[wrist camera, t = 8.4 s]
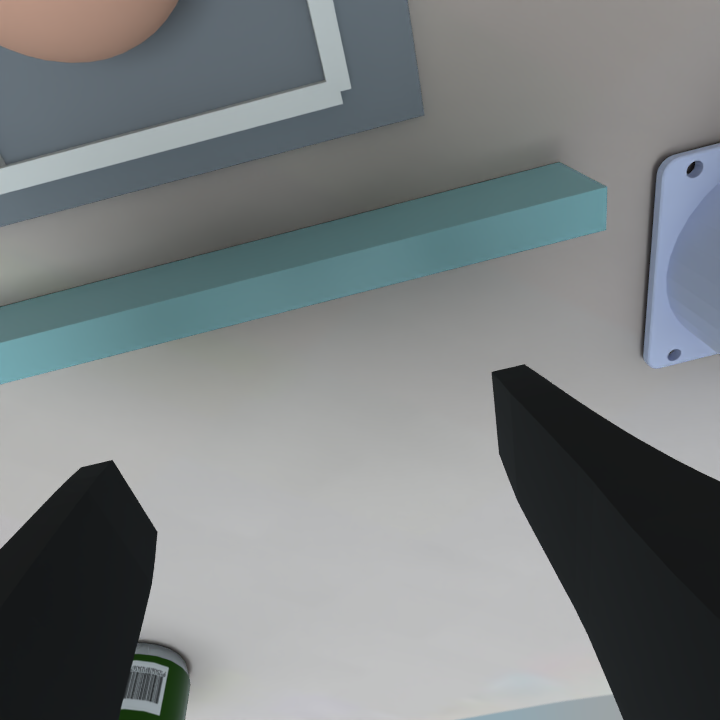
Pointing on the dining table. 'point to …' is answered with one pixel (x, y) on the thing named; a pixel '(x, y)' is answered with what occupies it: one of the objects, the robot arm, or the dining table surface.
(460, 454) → the dining table surface
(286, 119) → the rubber mat
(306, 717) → the dining table surface
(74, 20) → the ball
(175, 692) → the beer can
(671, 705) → the robot arm
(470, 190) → the acrylic wall
